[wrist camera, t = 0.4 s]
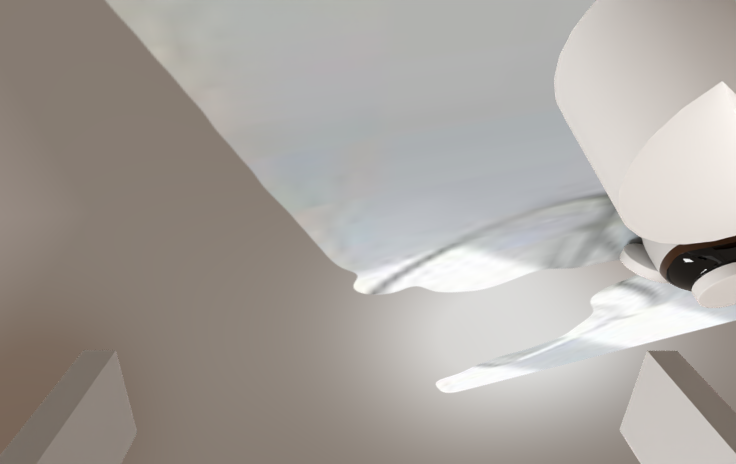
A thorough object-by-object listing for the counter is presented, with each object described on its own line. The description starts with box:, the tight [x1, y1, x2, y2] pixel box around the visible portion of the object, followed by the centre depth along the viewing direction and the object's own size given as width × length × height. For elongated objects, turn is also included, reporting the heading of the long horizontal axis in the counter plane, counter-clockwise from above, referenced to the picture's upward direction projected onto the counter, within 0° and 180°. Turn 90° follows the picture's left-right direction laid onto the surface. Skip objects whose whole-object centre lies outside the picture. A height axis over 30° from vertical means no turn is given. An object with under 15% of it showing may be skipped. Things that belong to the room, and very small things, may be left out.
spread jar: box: [620, 236, 736, 308], centre depth 54 cm, size 12×11×12 cm
